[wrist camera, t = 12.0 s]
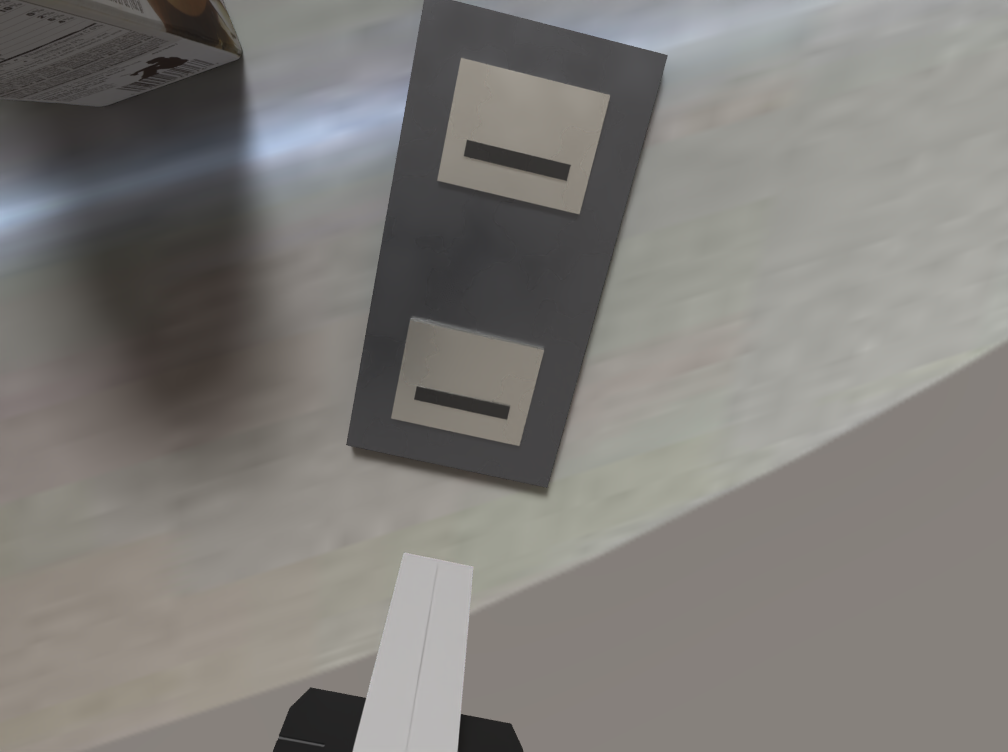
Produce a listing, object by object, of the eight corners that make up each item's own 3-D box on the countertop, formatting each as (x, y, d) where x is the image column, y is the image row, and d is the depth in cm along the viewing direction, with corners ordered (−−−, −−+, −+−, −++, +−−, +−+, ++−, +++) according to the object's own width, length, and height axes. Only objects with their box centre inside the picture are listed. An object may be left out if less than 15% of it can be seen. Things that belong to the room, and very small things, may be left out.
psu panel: (351, 435, 32) (344, 448, 30) (428, -2, 26) (423, -9, 25) (546, 477, 32) (547, 491, 31) (661, 58, 27) (669, 53, 25)
